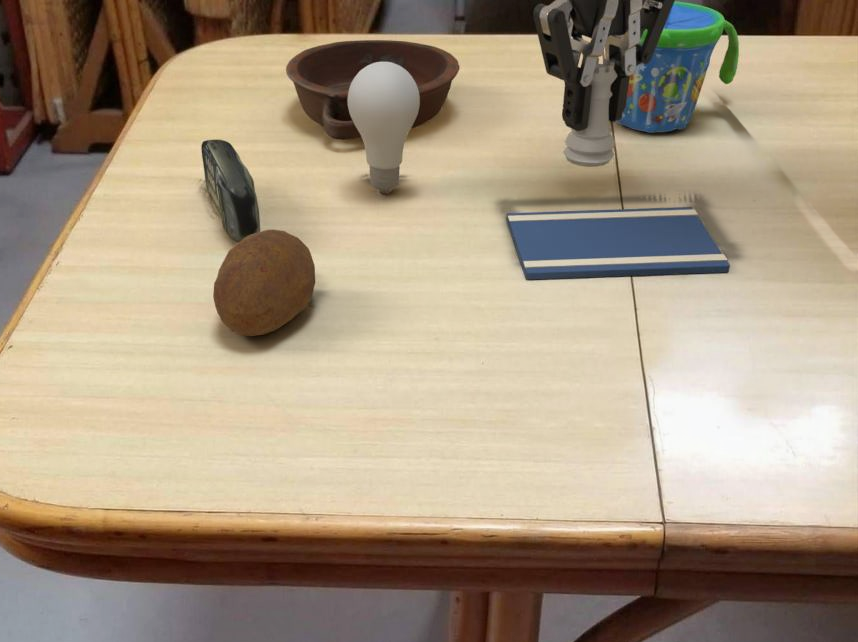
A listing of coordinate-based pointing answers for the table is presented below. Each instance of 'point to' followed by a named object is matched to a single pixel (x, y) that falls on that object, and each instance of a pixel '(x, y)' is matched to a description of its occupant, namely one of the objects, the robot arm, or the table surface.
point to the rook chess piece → (595, 123)
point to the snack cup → (678, 69)
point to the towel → (614, 243)
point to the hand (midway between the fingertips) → (593, 122)
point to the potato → (264, 282)
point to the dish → (341, 61)
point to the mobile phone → (231, 188)
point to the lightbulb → (383, 118)
